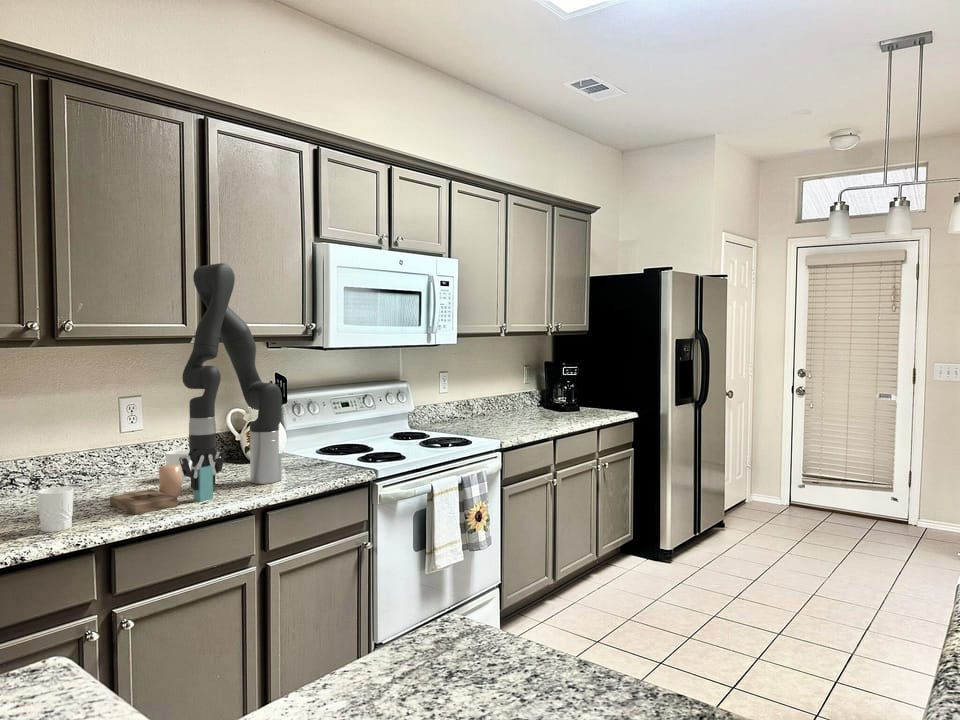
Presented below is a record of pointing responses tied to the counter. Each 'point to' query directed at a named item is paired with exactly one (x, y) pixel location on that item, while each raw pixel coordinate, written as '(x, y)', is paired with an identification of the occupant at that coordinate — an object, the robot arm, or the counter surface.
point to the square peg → (204, 484)
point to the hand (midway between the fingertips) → (203, 488)
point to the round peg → (170, 480)
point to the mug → (173, 459)
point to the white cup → (55, 508)
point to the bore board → (143, 501)
